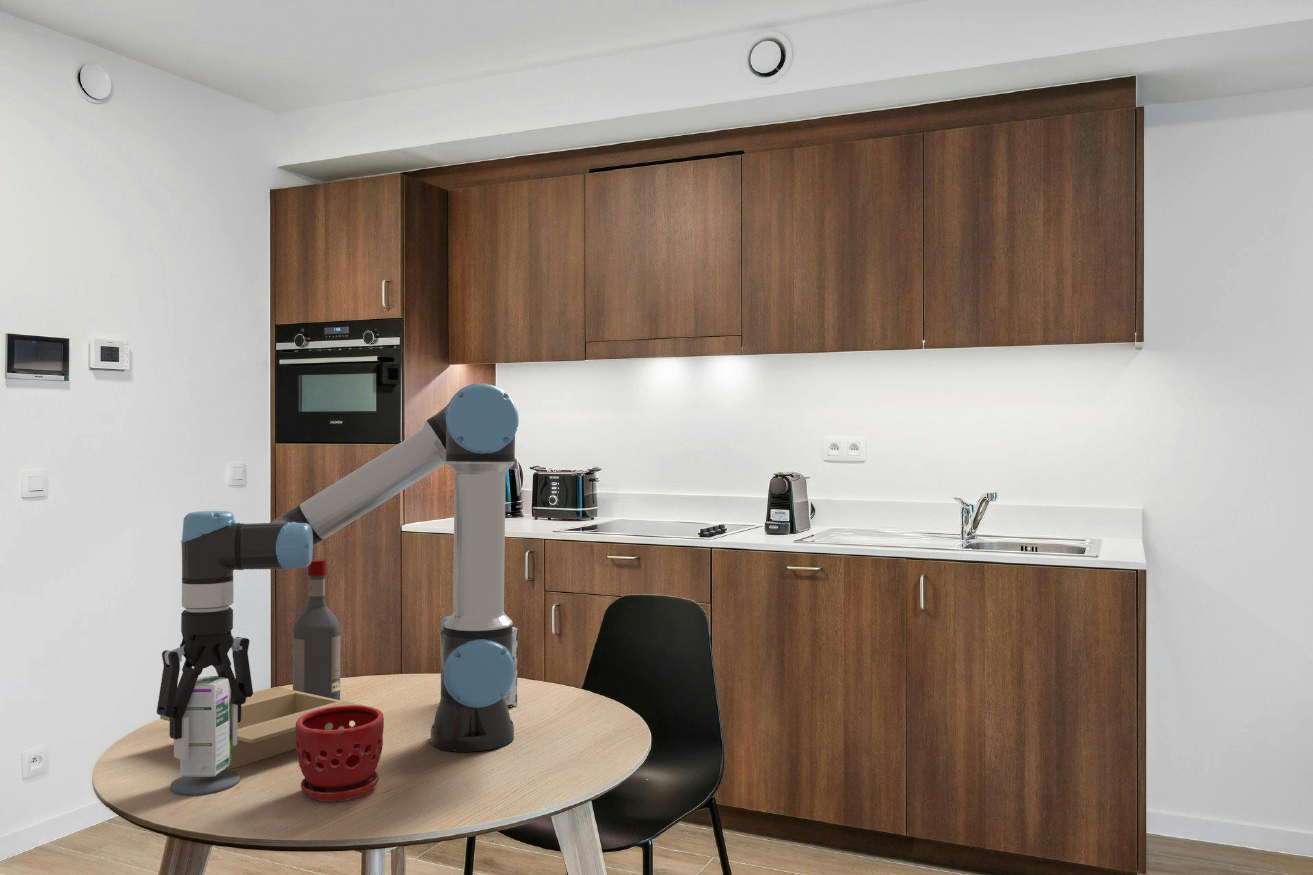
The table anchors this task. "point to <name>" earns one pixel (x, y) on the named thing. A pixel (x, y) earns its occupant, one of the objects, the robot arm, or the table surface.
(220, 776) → the coaster
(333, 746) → the plant pot
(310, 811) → the table surface
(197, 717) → the syrup box
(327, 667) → the liquor
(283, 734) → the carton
